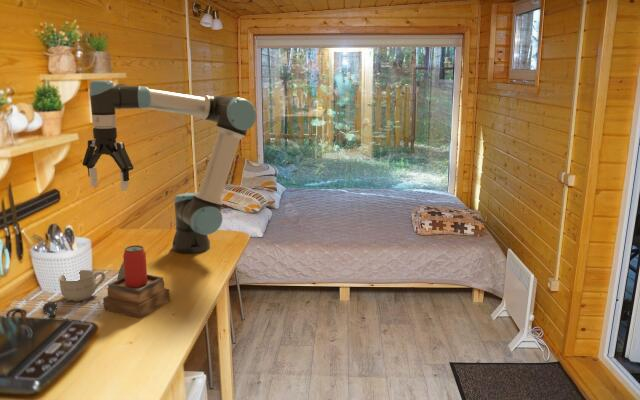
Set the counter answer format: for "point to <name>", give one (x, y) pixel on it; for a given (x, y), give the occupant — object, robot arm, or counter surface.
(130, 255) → the beer can
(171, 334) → the counter surface
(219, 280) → the counter surface
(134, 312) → the tower base
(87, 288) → the teacup
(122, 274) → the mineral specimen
